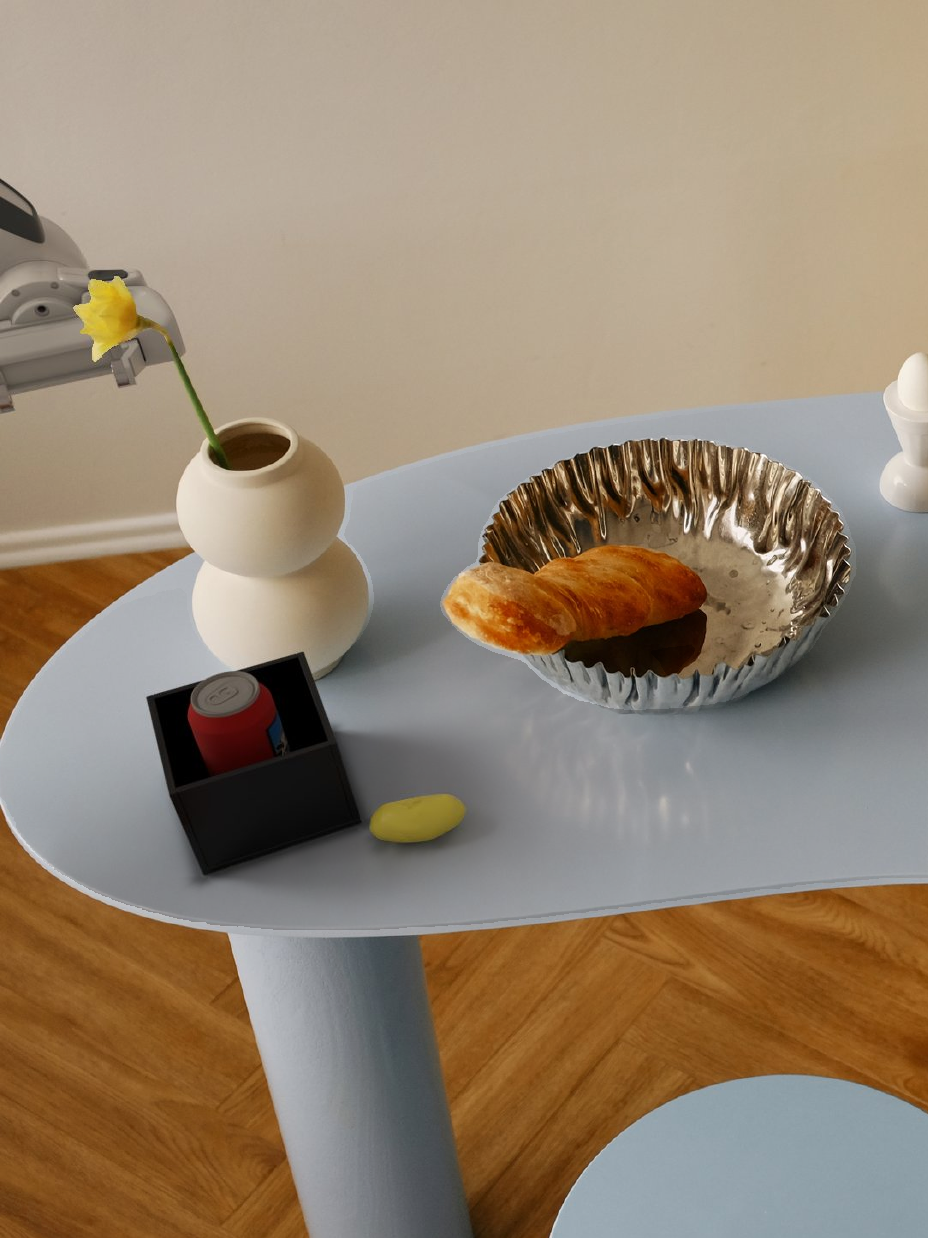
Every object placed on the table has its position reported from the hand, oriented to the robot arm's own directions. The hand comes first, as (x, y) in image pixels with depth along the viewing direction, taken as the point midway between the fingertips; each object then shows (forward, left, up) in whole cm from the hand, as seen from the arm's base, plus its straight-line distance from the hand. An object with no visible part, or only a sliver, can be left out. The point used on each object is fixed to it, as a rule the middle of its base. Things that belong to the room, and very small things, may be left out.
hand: (64, 392), depth 124 cm
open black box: (+5, -21, -31) cm, 38 cm away
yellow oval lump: (+16, -31, -32) cm, 47 cm away
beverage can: (+4, -20, -31) cm, 37 cm away
